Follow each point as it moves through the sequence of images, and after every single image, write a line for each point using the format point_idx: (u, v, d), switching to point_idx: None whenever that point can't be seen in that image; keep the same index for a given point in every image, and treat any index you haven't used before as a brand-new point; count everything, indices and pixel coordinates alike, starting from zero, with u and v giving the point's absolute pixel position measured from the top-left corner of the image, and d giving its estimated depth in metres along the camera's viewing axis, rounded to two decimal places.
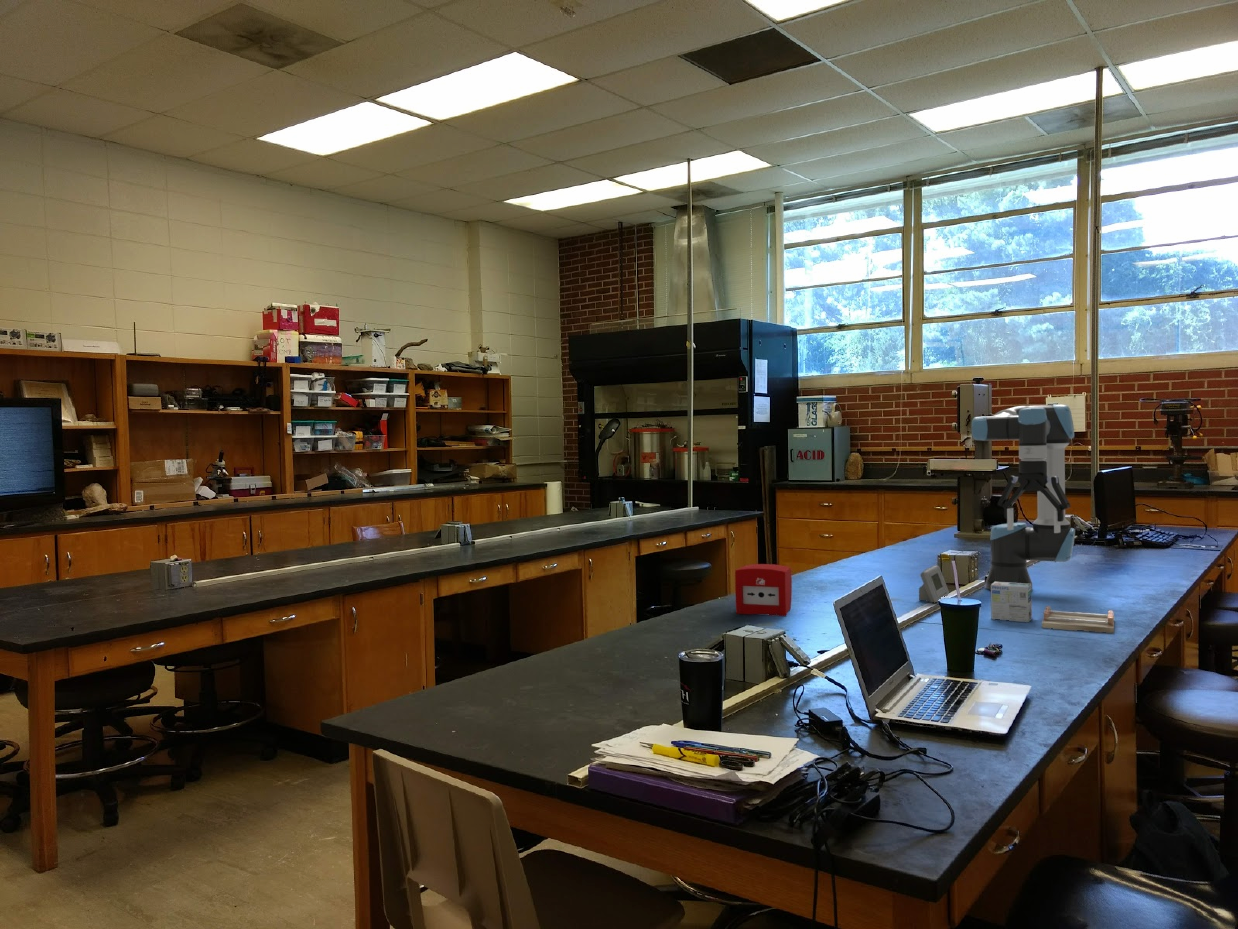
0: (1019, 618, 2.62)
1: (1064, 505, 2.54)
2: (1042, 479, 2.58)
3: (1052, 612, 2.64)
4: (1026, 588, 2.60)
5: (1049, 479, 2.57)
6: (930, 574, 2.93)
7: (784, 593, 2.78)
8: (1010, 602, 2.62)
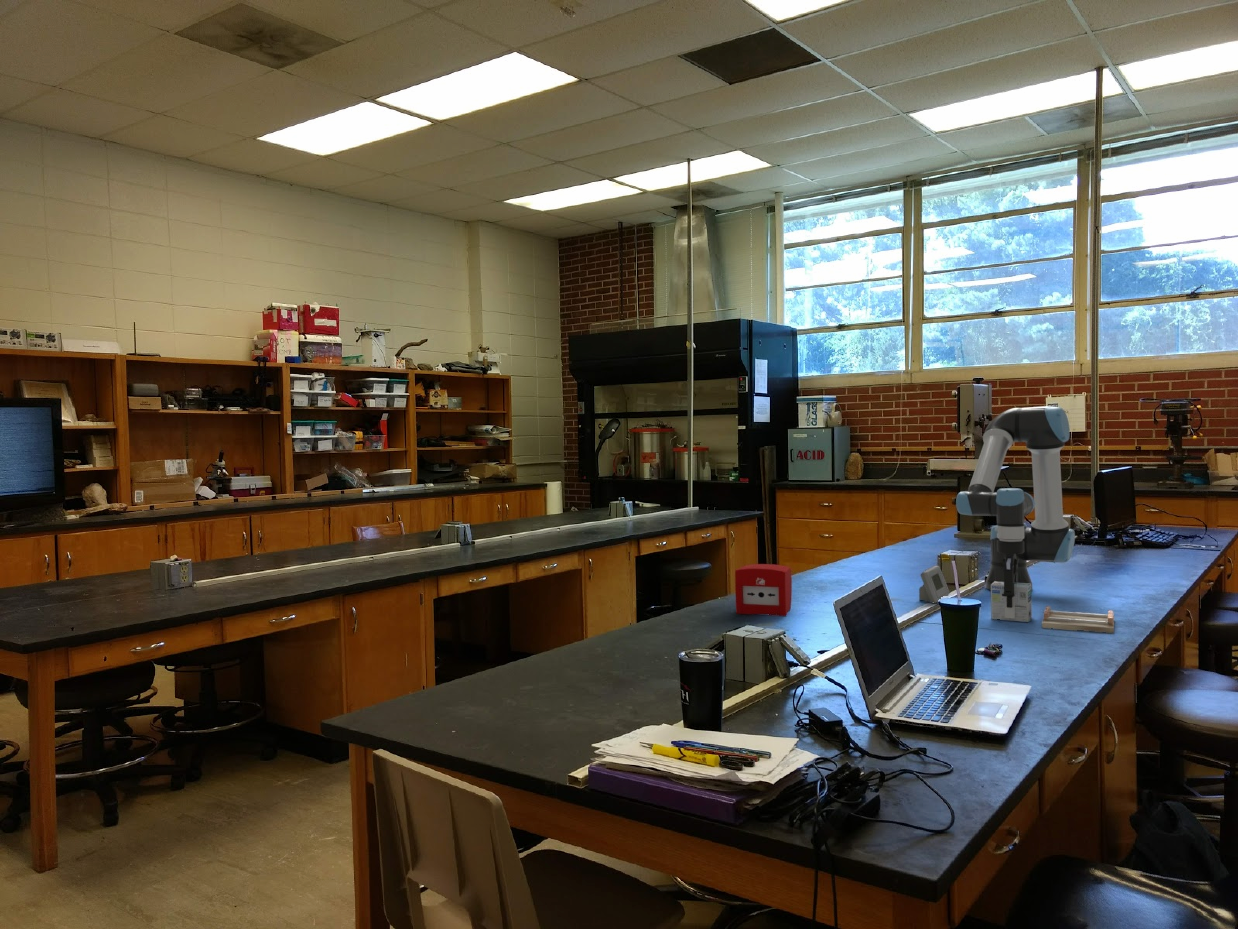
0: (1019, 618, 2.62)
1: (1004, 591, 2.60)
2: None
3: (1052, 612, 2.64)
4: (1026, 588, 2.60)
5: None
6: (930, 574, 2.93)
7: (784, 593, 2.78)
8: None
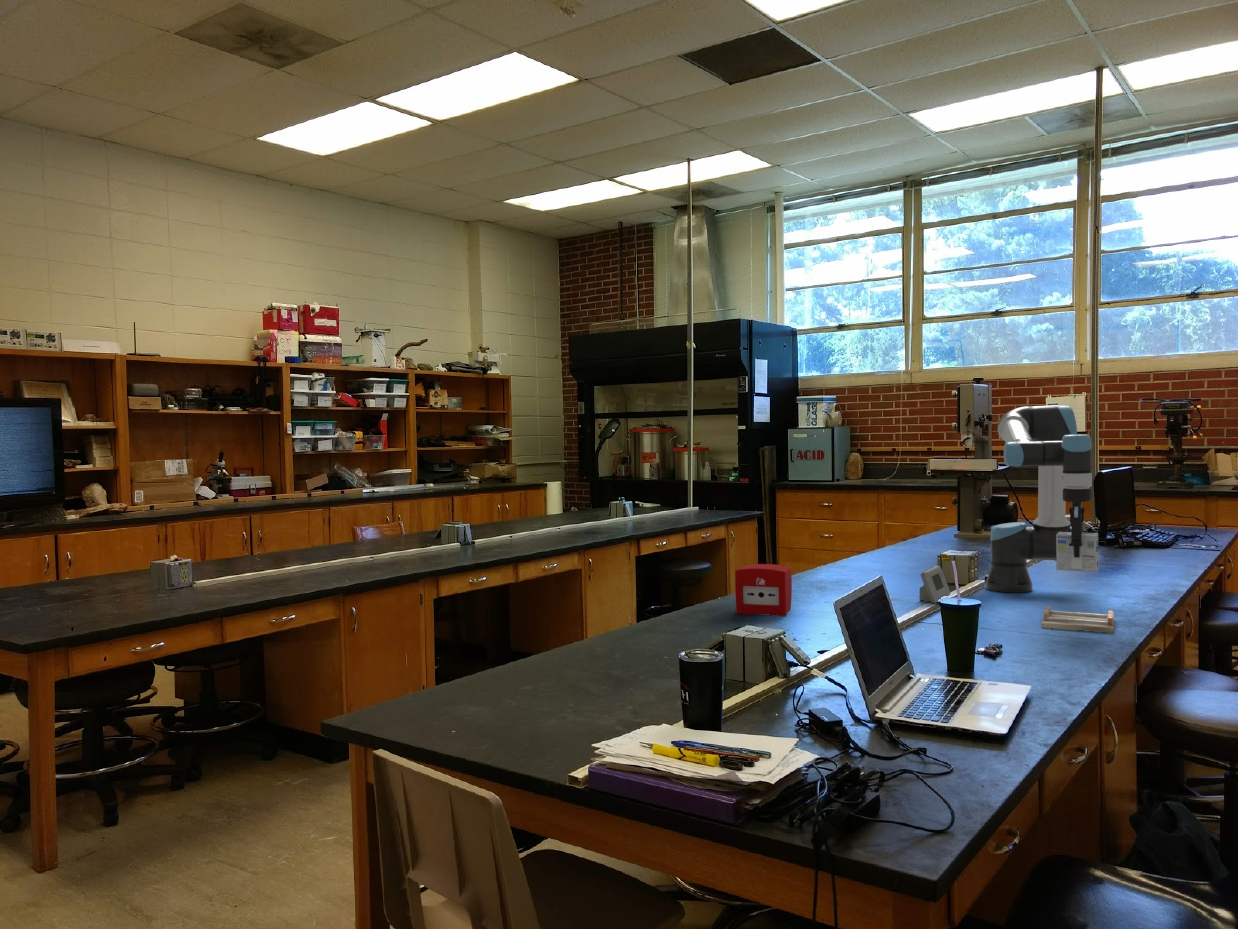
0: (1086, 568, 2.52)
1: (1071, 541, 2.51)
2: (1072, 508, 2.53)
3: (1052, 612, 2.64)
4: (1094, 537, 2.50)
5: None
6: (930, 574, 2.93)
7: (784, 593, 2.78)
8: None
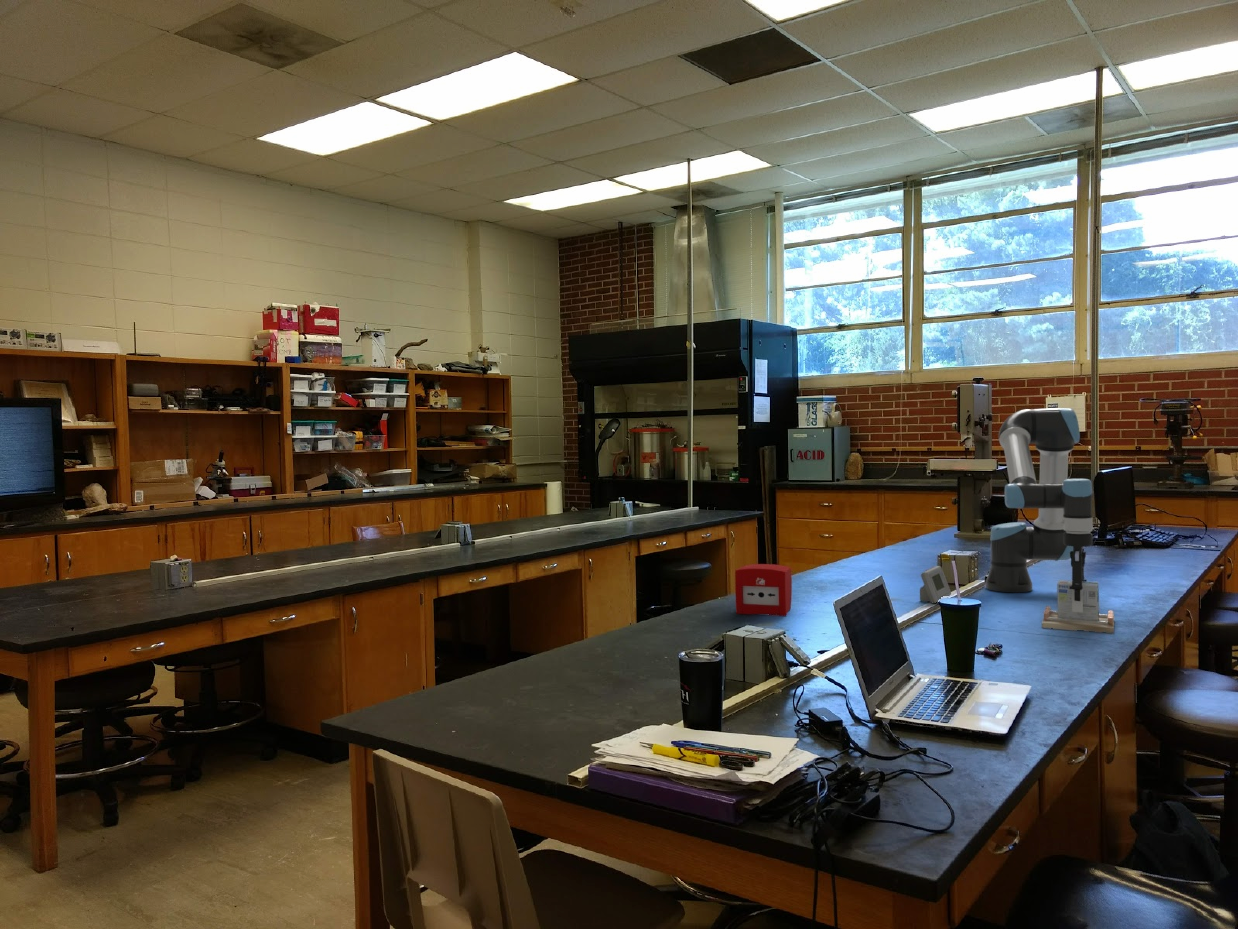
0: (1088, 618, 2.52)
1: (1072, 584, 2.50)
2: (1073, 552, 2.54)
3: (1052, 612, 2.64)
4: (1095, 587, 2.51)
5: None
6: (931, 574, 2.93)
7: (784, 593, 2.78)
8: None
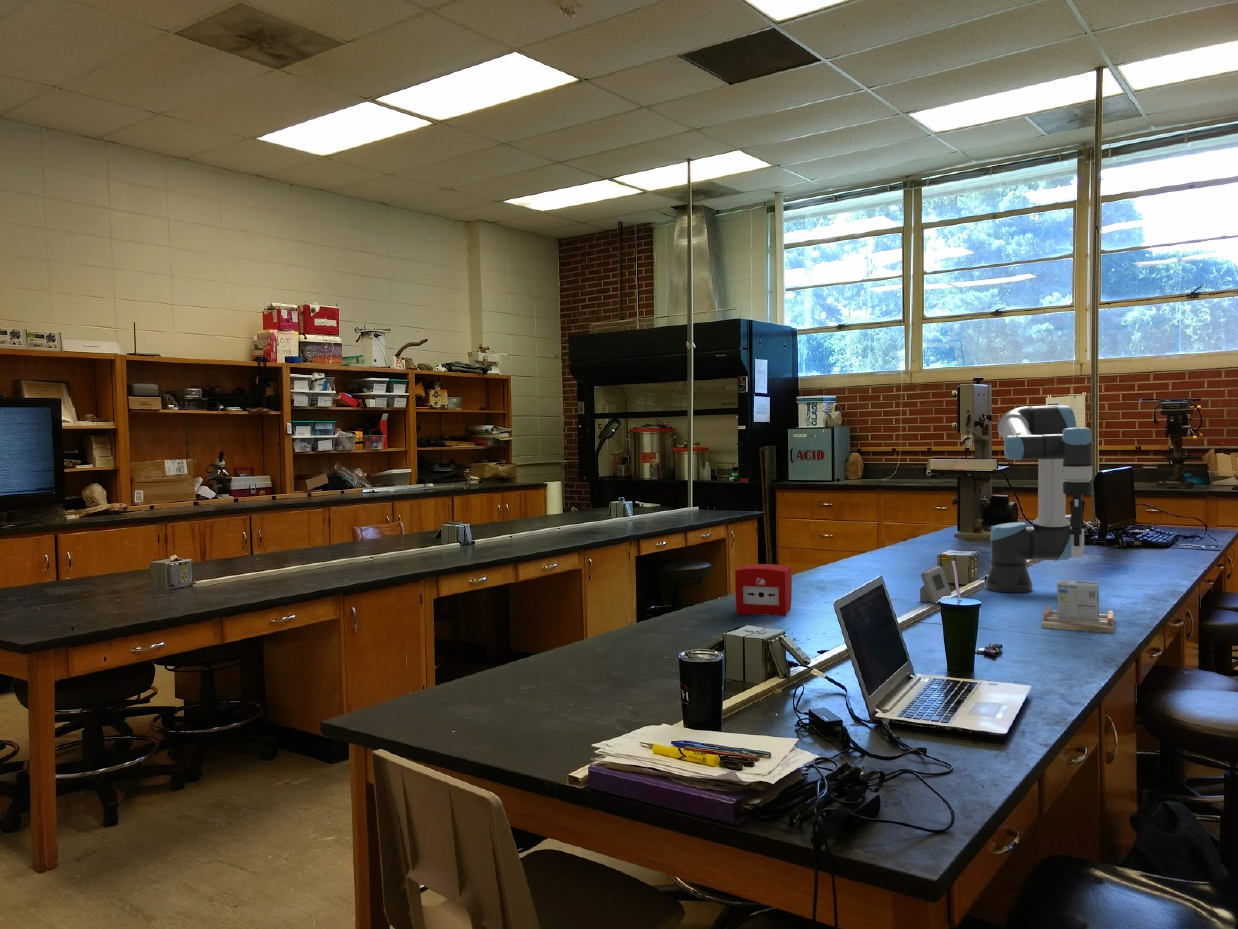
0: (1088, 618, 2.52)
1: (1071, 529, 2.48)
2: None
3: (1052, 612, 2.64)
4: (1095, 587, 2.51)
5: None
6: (931, 574, 2.92)
7: (784, 593, 2.78)
8: (1078, 601, 2.53)
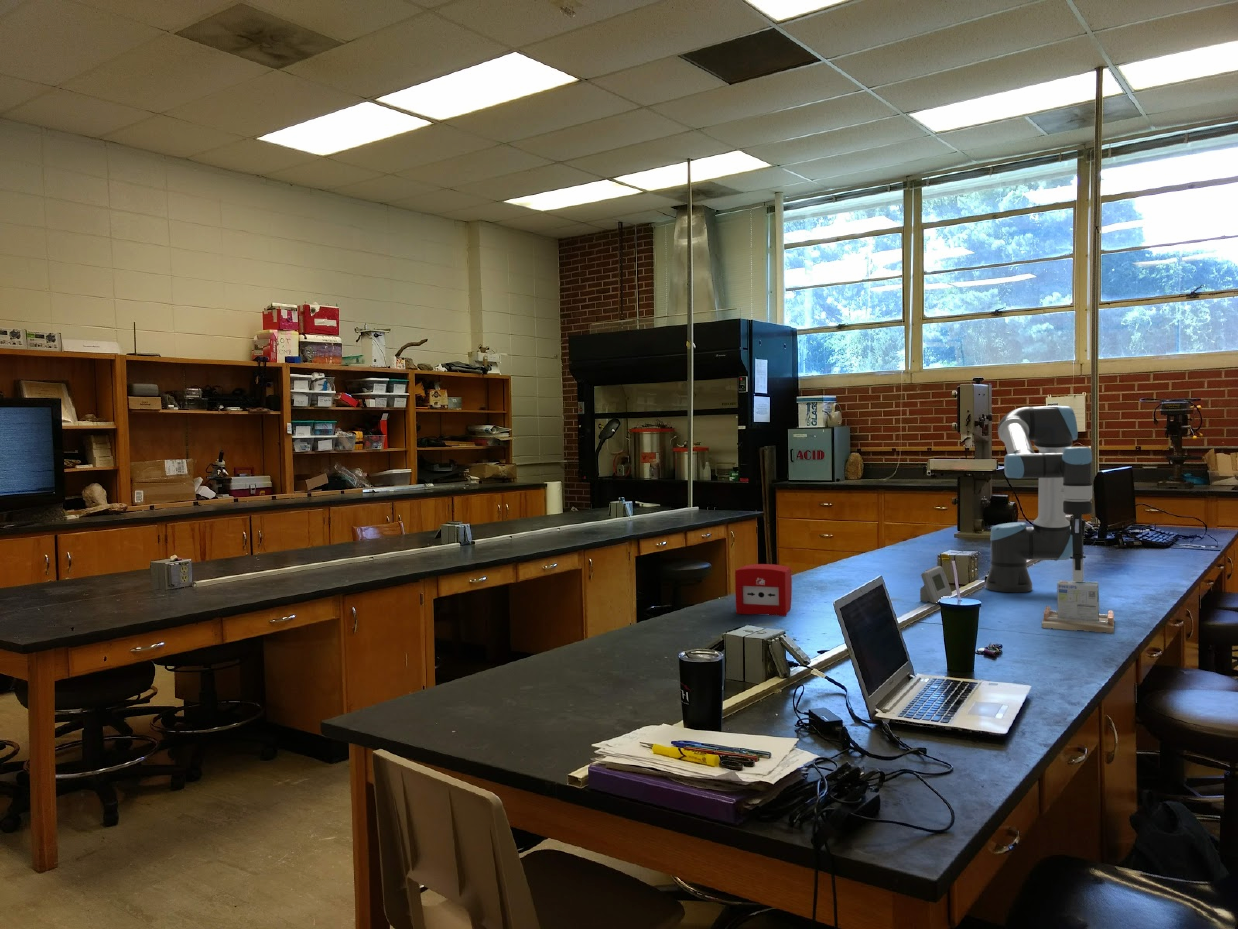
0: (1088, 618, 2.52)
1: None
2: (1072, 521, 2.53)
3: (1052, 612, 2.64)
4: (1095, 587, 2.51)
5: (1075, 525, 2.52)
6: (931, 574, 2.92)
7: (784, 593, 2.78)
8: (1078, 601, 2.53)
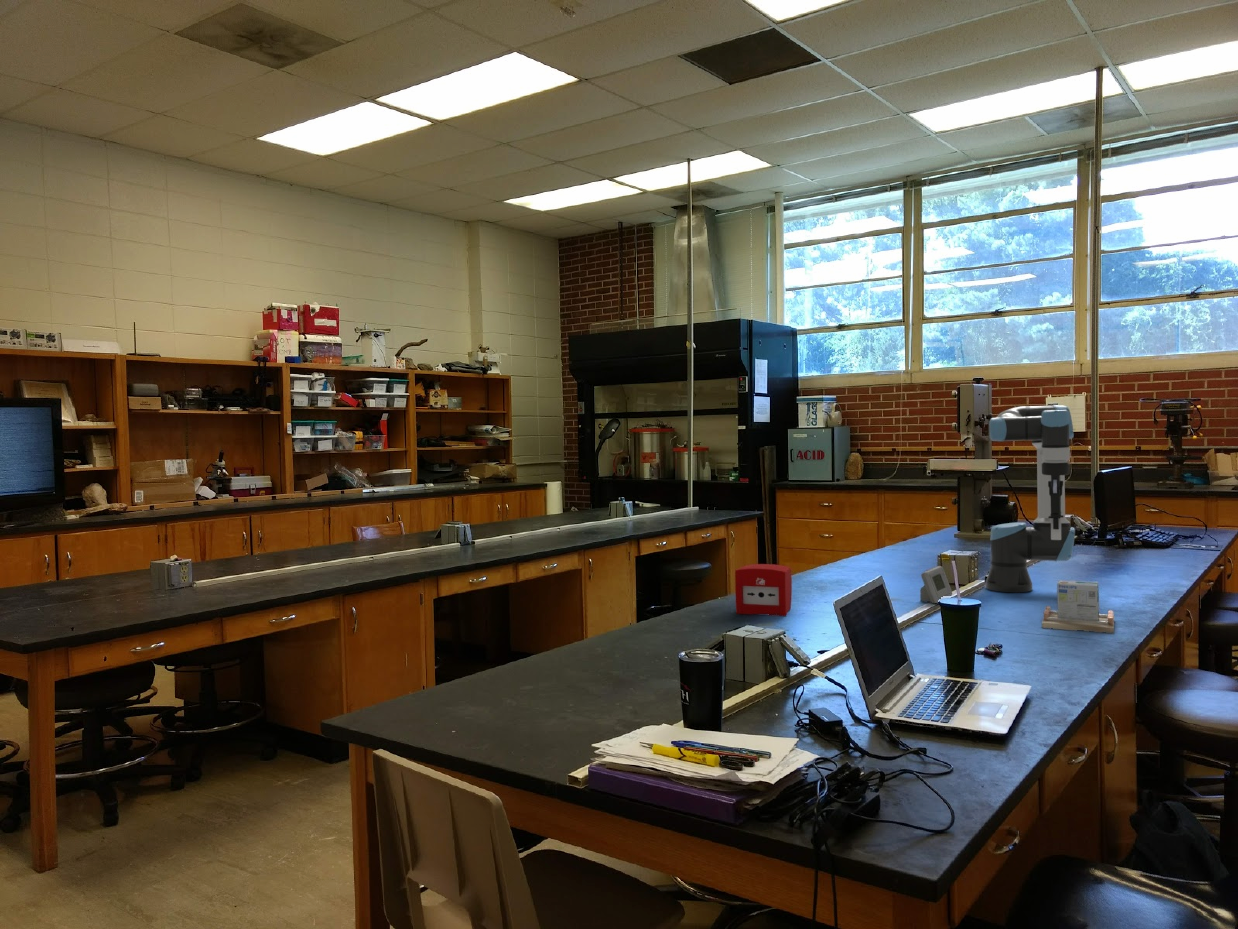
0: (1088, 618, 2.52)
1: (1050, 513, 2.62)
2: (1051, 481, 2.62)
3: (1052, 612, 2.64)
4: (1095, 587, 2.51)
5: (1053, 485, 2.60)
6: (931, 575, 2.92)
7: (784, 593, 2.78)
8: (1078, 601, 2.53)
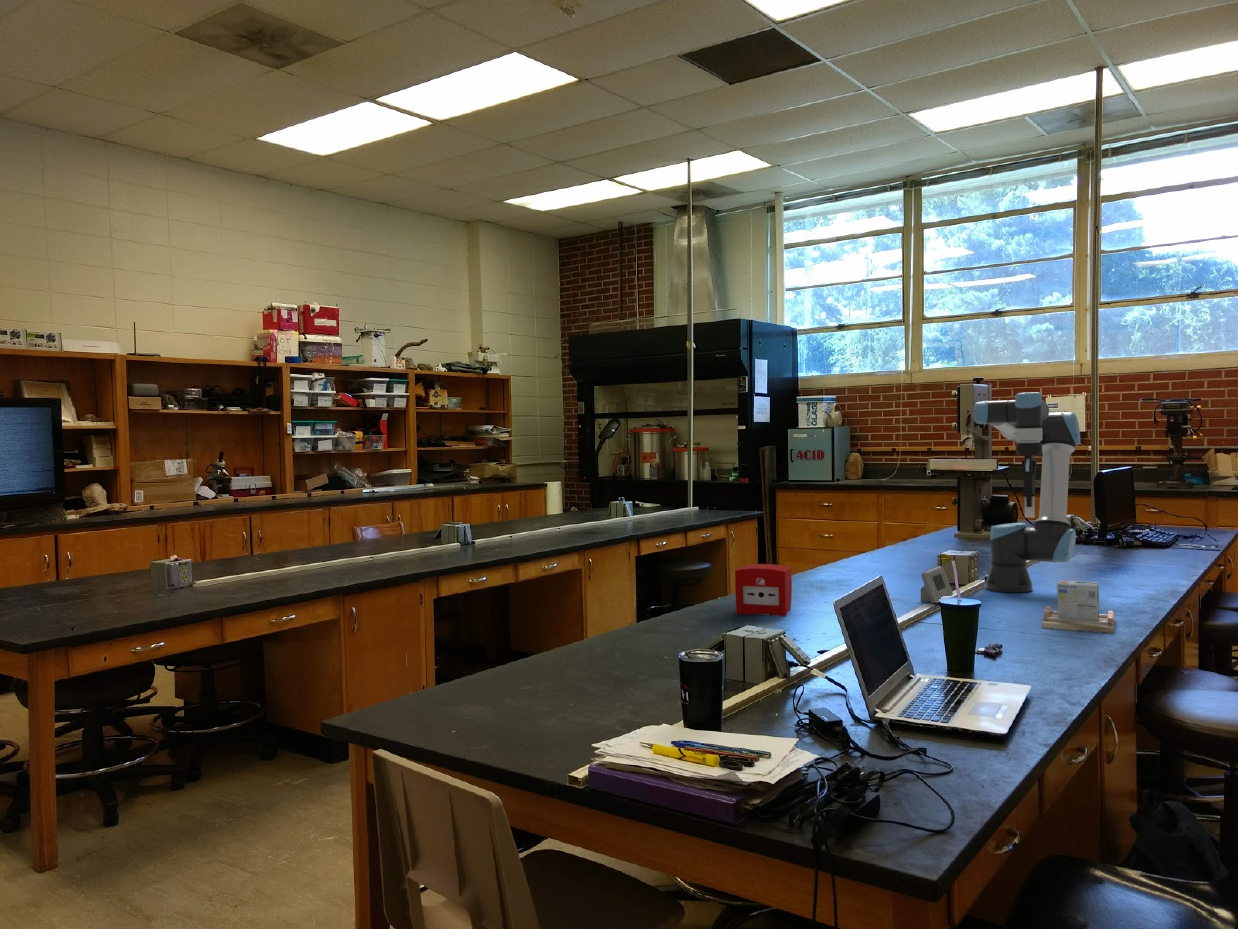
0: (1088, 618, 2.52)
1: (1024, 491, 2.73)
2: (1024, 460, 2.72)
3: (1052, 612, 2.64)
4: (1095, 587, 2.51)
5: (1026, 464, 2.71)
6: (931, 575, 2.92)
7: (784, 593, 2.78)
8: (1078, 601, 2.53)
